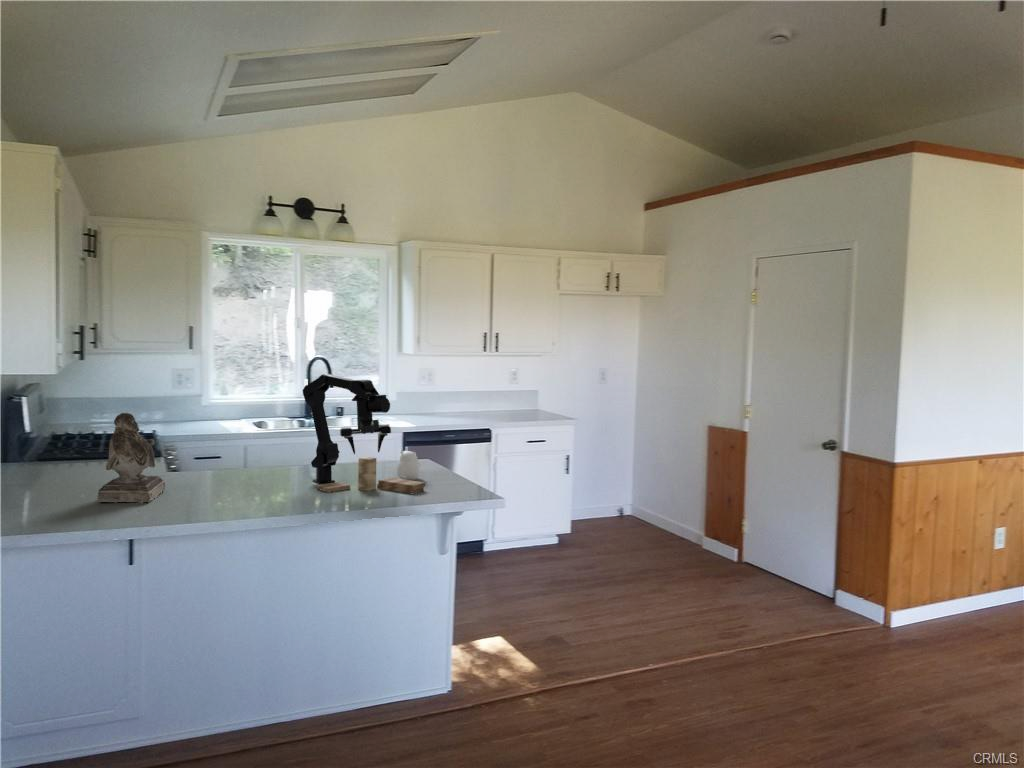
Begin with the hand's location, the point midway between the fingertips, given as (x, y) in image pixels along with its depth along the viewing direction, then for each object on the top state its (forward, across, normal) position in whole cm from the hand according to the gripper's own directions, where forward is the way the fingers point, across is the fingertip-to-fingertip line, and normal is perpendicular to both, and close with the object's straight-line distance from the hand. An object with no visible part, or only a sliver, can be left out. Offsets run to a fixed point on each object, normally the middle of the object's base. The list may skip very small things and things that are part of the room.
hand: (366, 453), depth 286 cm
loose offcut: (+13, -13, +2) cm, 18 cm away
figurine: (+14, +18, +14) cm, 27 cm away
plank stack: (+15, +12, -3) cm, 19 cm away
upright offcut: (+14, 0, 0) cm, 14 cm away
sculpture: (+10, -82, +1) cm, 83 cm away
